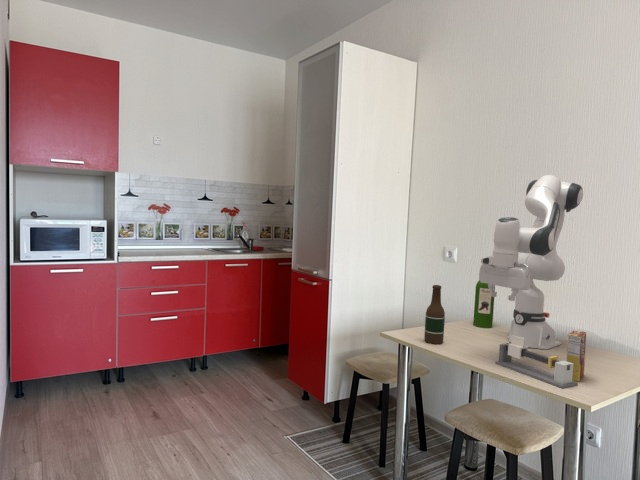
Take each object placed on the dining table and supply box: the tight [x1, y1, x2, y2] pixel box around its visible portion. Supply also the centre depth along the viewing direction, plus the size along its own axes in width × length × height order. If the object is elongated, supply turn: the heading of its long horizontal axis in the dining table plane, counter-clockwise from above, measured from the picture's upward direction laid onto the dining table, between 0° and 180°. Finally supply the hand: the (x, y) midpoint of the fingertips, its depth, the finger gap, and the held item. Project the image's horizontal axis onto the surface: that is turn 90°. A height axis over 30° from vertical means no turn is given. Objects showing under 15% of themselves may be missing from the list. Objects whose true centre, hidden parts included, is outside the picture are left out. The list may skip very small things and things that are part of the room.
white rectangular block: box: [508, 335, 529, 360], centre depth 163 cm, size 4×5×7 cm
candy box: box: [566, 330, 587, 383], centre depth 155 cm, size 9×4×15 cm, turn 140°
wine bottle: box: [472, 279, 496, 329], centre depth 225 cm, size 9×9×32 cm
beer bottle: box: [423, 284, 446, 345], centre depth 192 cm, size 8×8×24 cm
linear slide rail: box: [494, 342, 579, 390], centre depth 158 cm, size 8×26×8 cm, turn 29°
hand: (502, 298), depth 170 cm, fingers open, 7 cm apart
